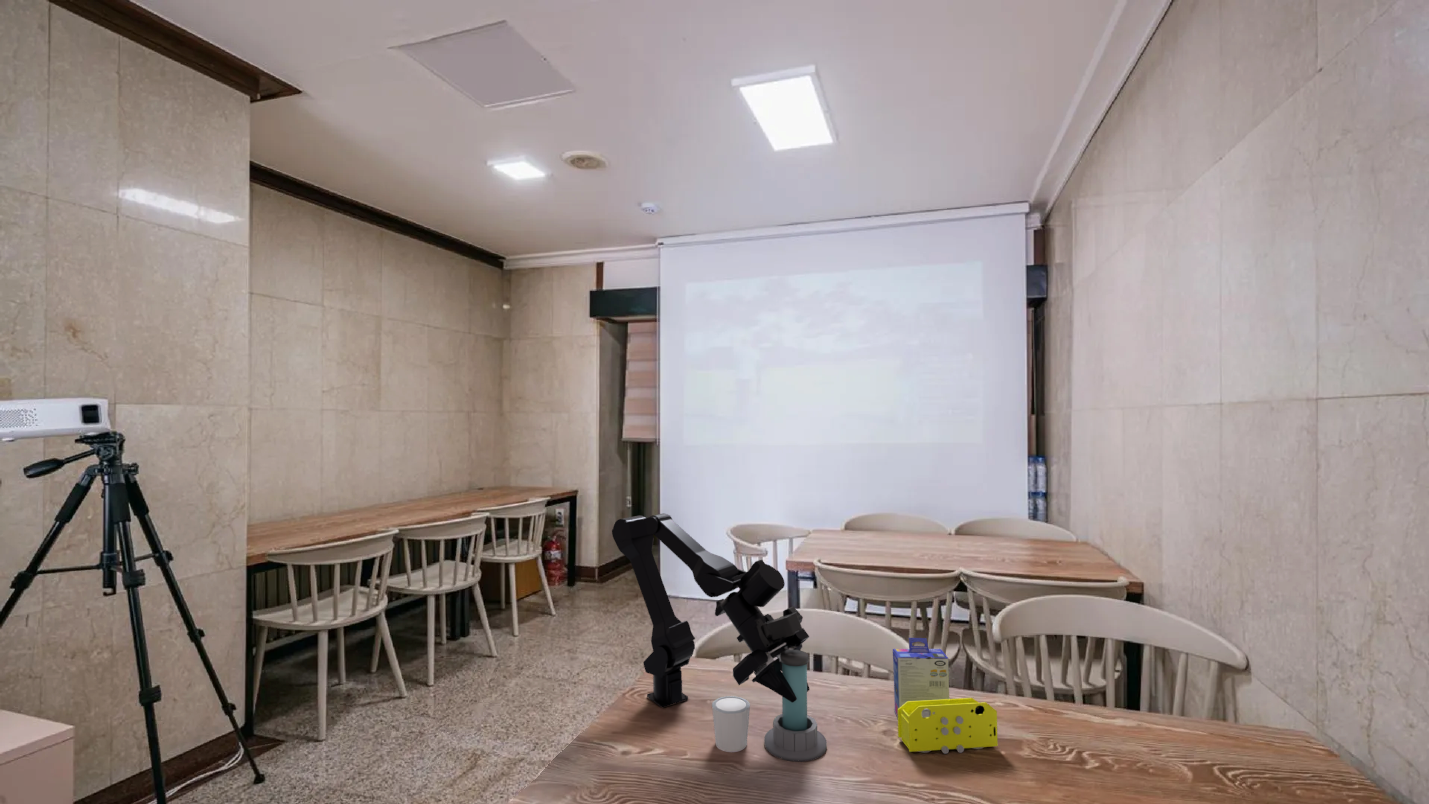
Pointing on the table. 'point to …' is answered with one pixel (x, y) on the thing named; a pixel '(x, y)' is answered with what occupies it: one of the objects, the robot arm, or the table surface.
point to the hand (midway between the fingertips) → (801, 696)
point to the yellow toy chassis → (947, 725)
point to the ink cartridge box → (919, 674)
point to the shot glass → (731, 723)
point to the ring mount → (795, 741)
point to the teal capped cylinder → (795, 689)
